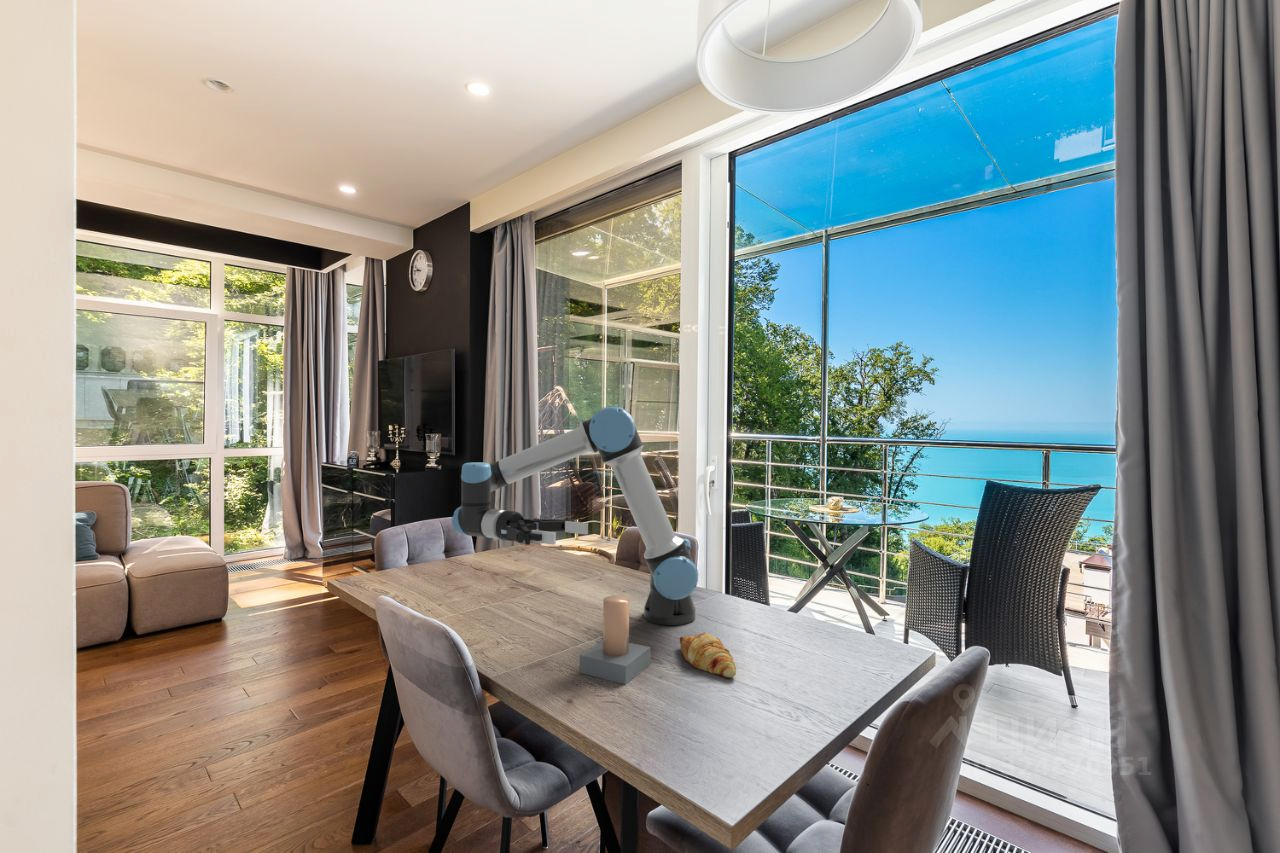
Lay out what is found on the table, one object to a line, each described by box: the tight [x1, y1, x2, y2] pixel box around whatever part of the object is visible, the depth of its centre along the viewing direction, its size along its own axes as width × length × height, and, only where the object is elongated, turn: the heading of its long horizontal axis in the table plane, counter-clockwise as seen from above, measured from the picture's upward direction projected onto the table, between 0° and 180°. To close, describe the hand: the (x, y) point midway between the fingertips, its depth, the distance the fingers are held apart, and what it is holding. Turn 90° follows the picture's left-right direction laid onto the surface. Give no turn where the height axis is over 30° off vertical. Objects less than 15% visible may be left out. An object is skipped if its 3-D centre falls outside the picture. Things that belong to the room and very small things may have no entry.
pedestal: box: [579, 640, 652, 685], centre depth 134 cm, size 12×12×4 cm
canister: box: [602, 595, 630, 656], centre depth 134 cm, size 6×6×12 cm
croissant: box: [679, 632, 737, 678], centre depth 138 cm, size 21×10×8 cm, turn 30°
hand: (571, 533), depth 140 cm, fingers open, 13 cm apart
